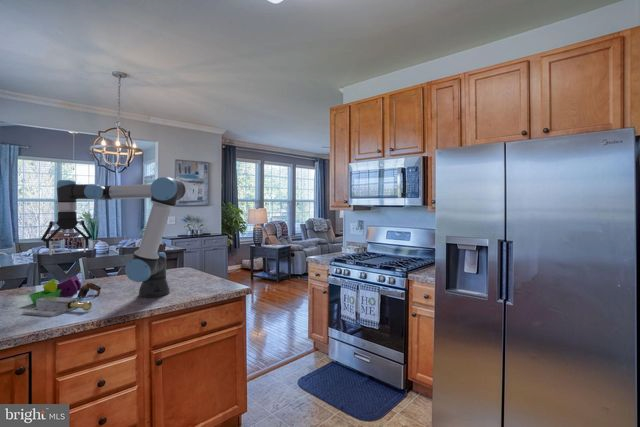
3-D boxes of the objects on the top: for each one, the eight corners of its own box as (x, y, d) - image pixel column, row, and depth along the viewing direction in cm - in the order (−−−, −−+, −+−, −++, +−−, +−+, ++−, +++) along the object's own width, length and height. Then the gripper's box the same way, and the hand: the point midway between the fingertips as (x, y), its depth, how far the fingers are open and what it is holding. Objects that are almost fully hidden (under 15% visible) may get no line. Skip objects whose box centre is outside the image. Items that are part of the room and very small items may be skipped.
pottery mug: (80, 295, 178) (89, 281, 180) (97, 303, 179) (106, 289, 181) (69, 295, 166) (79, 280, 169) (86, 303, 167) (96, 288, 170)
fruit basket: (48, 298, 170) (48, 276, 170) (65, 298, 170) (64, 277, 170) (28, 305, 159) (27, 281, 158) (45, 305, 158) (45, 282, 158)
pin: (91, 309, 151) (91, 300, 151) (84, 311, 148) (84, 303, 147) (59, 306, 154) (59, 298, 154) (51, 309, 151) (51, 300, 151)
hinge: (87, 304, 160) (87, 295, 160) (52, 316, 142) (52, 305, 142) (60, 302, 163) (60, 293, 162) (22, 314, 145) (22, 303, 145)
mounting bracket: (41, 310, 170) (79, 292, 176) (32, 296, 168) (70, 278, 174) (48, 305, 178) (84, 288, 184) (40, 291, 177) (76, 275, 183)
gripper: (96, 210, 174) (97, 250, 175) (34, 211, 160) (36, 254, 160) (97, 210, 168) (98, 252, 169) (33, 211, 153) (34, 256, 154)
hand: (68, 253), depth 164 cm, fingers open, 13 cm apart
